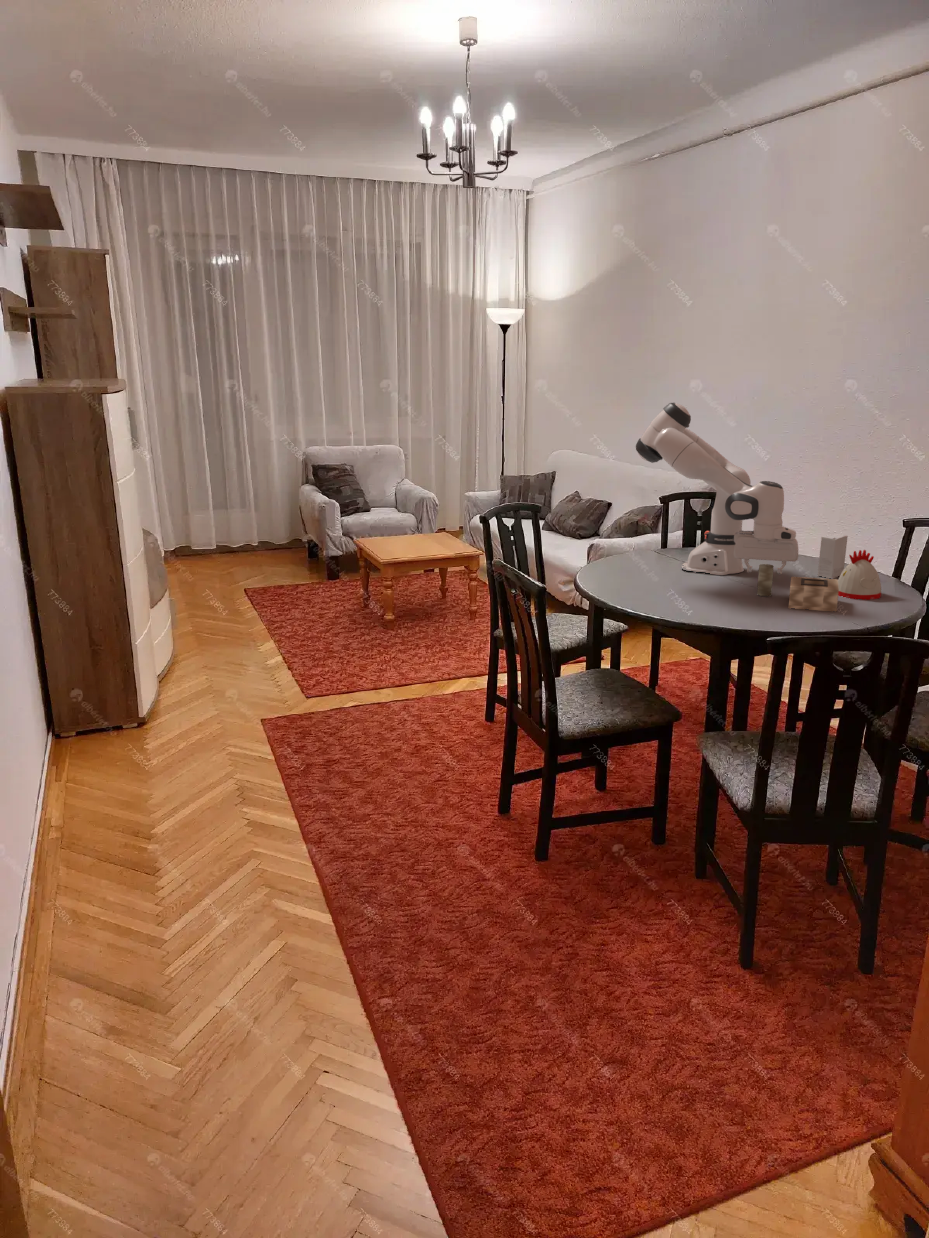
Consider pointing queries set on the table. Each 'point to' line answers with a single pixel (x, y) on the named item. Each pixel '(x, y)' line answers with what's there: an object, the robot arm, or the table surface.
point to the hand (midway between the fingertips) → (764, 572)
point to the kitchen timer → (860, 578)
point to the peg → (765, 580)
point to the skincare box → (832, 555)
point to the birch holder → (813, 593)
